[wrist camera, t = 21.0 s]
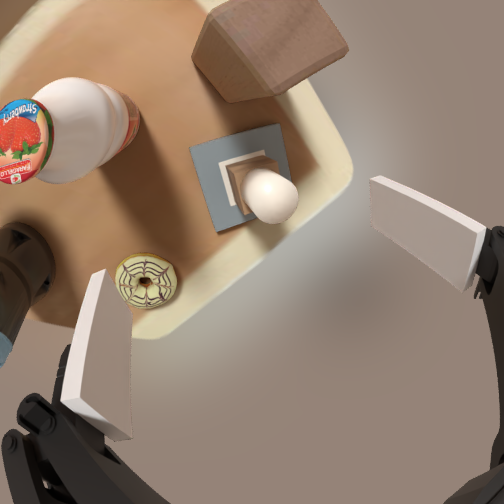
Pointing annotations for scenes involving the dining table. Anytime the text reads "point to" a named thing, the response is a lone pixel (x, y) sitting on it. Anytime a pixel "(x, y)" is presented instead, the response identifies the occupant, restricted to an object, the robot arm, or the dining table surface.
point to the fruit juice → (64, 131)
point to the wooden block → (265, 46)
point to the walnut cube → (241, 169)
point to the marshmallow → (269, 195)
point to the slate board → (227, 152)
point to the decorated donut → (145, 293)
